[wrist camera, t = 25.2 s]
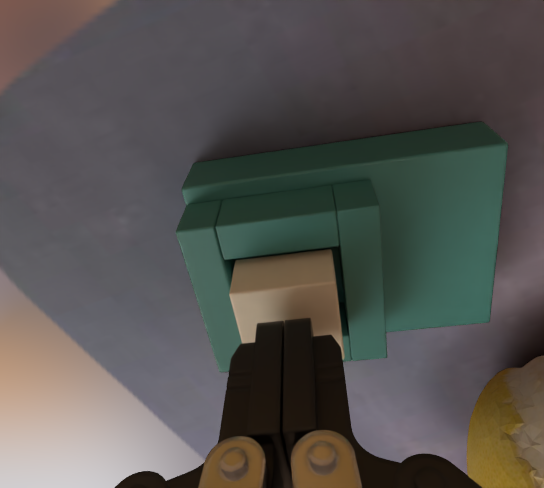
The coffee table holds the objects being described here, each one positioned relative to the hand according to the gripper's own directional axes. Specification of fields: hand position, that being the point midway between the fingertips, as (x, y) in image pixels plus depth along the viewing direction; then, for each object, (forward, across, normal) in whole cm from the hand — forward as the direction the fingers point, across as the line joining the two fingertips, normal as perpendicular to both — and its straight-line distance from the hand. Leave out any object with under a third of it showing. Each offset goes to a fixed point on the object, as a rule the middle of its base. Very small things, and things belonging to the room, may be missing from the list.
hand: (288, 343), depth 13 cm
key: (+2, 0, 0) cm, 2 cm away
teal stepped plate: (+6, -2, 0) cm, 6 cm away
